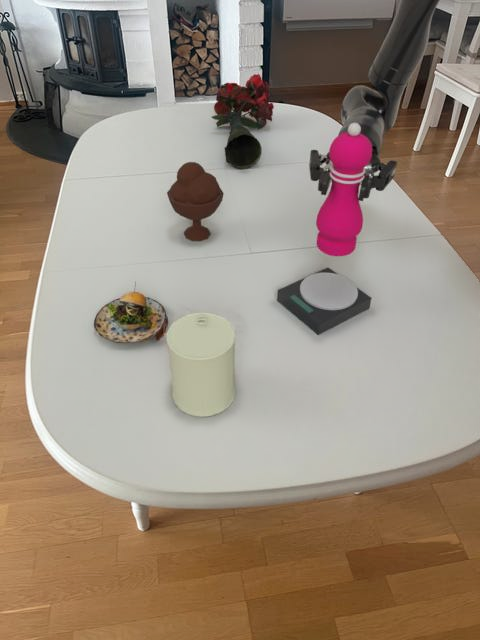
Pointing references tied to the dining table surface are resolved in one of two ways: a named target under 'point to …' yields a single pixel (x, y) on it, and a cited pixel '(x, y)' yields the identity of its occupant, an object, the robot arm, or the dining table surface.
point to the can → (202, 363)
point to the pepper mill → (344, 193)
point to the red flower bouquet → (243, 119)
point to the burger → (131, 319)
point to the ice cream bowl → (195, 198)
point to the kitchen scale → (323, 300)
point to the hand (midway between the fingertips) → (342, 192)
